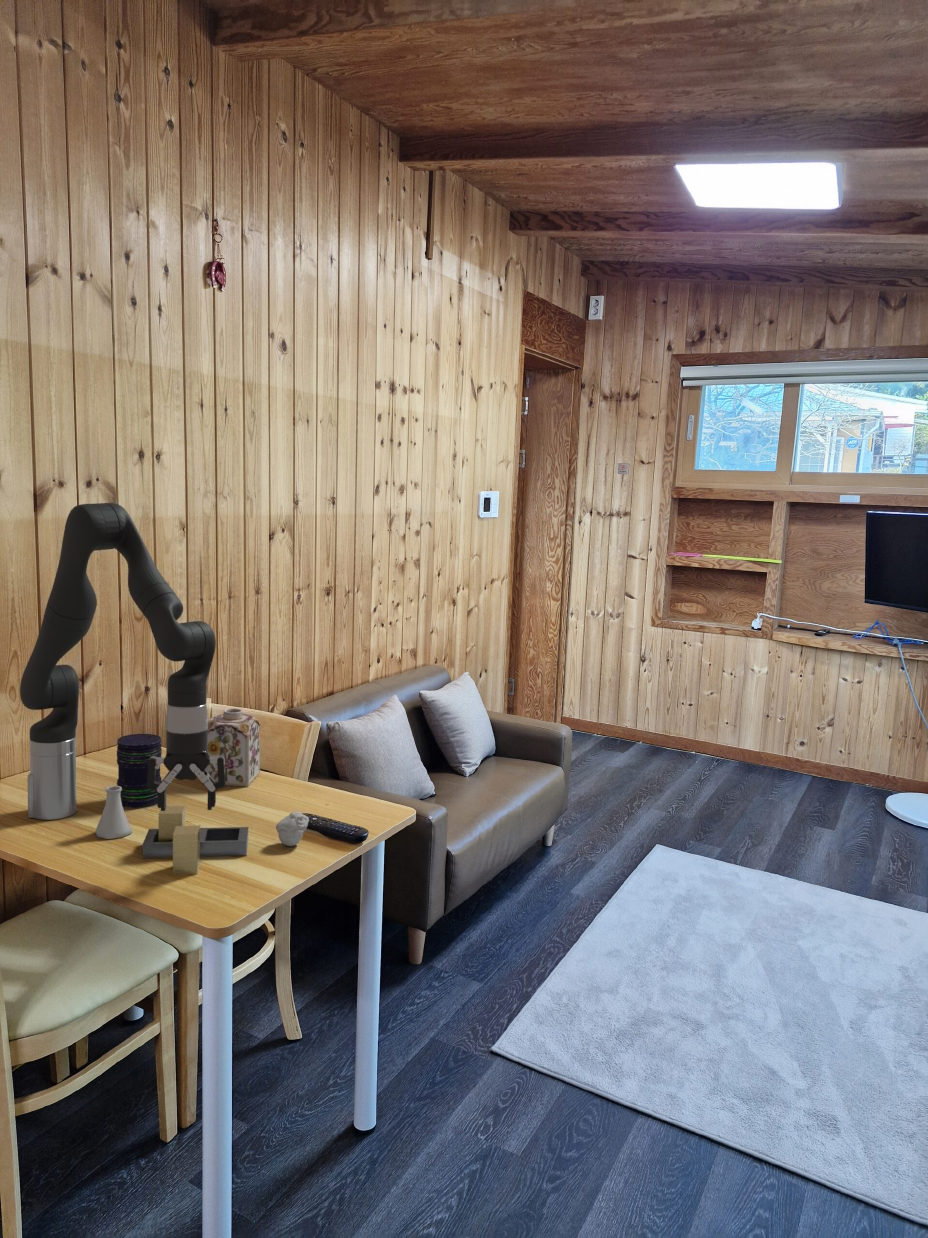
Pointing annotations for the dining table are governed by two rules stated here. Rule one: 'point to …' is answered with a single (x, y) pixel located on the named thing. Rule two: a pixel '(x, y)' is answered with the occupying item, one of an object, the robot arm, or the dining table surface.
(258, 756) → the decorative jar
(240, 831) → the grey slotted tray
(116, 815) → the flask
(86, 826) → the dining table surface
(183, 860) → the beige wooden block
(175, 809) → the block
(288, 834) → the frog figurine
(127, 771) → the storage jar
